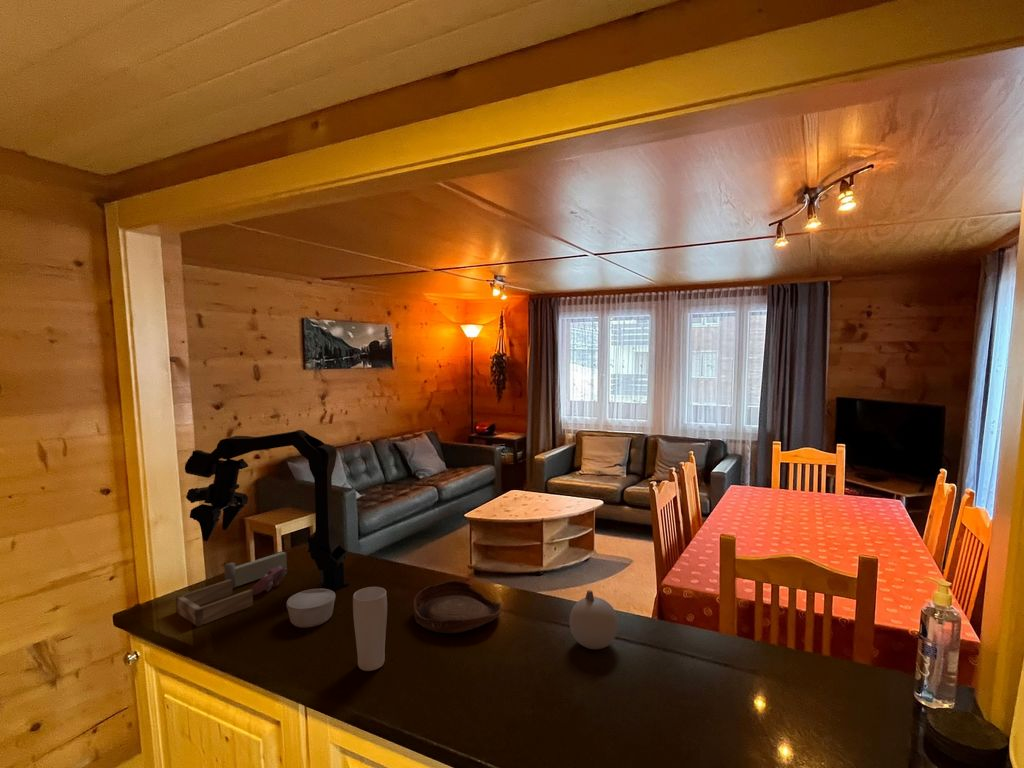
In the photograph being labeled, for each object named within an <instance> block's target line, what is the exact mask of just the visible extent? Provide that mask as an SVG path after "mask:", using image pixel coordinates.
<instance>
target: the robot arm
mask: <svg viewBox="0 0 1024 768" xmlns="http://www.w3.org/2000/svg"><path fill="white" fill-rule="evenodd" d="M291 446H292V447H294V448H295V449H296V450H297V451H298V453H299V454H300V456H302V457H303V458H305V459H306V460H307V461H308V467H309V471H310V472H311V476H313V480H314V514H315V515H314V516H315V517H314V518H315V522H314V523H315V531H314V532H313V533H312V534H311V535H309V536H308V538H307V542H308V549H307V553H308V554H309V555H310V556H309V557H310V558H311V559H312V561H314V562H315V564H316V567H317V570H318V571H320V583H318V584H316V588H317V589H328V590H331V591H333V592H334V591H336V590H339V589H341V588H344V587H346V586H348V585H350V582H349V581H346V580H345V565H344V563H343V562H344V560H346V556H347V554H348V551H347V550H346V549H344V547H343V546H342V545H341V544H340V543H339V537H338V534H337V532H336V529H335V528H334V525H333V484H332V482H333V481H332V479H333V478H332V475H333V472H334V470H335V467H336V461H337V455H338V453H337V450H336V448H335V447H334V446H333V445H331V444H328V443H325V442H323V441H322V440H320V439H319V438H316V437H315V436H312V435H310V434H309V432H306V431H304V430H303V429H298V430H294V431H289V432H283V433H282V432H281V433H274V434H269V435H262V436H249V435H235V436H231V437H227V438H223V439H220V440H219V442H218V443H217V444H216V448H215V449H214V450H213V451H211V452H205V451H204V450H199V449H196V450H193V451H192V454H191V455H190V456H189V458H188V459H187V461H186V463H185V464H184V471H185V473H186V474H187V475H191V476H196V477H201V478H207V479H208V478H209V479H210V478H211V477H212V476H214V477H213V482H212V483H210V484H209V485H208V486H205V487H204V486H203V487H199V488H198V487H195V488H190V489H188V491H187V493H186V496H185V498H186V499H187V501H188V502H190V504H193V503H197V502H203V501H204V502H203V503H202V504H200V505H197V506H195V507H193V508H192V509H191V510H190V514H189V518H190V519H193V521H197V523H198V524H199V526H200V530H201V535H202V540H203V542H208V541H209V540H210V537H211V536H212V534H213V533H214V530H215V529H216V526H217V525H218V523H219V521H220V516H221V513H222V523H221V524H222V527H221V528H222V529H221V530H222V531H227V530H228V528H229V527H230V526H231V524H232V523H233V522H234V520H235V519H236V518H237V517H238V515H239V514H240V513H241V511H242V510H243V508H245V505H247V504H248V500H249V497H248V495H247V494H246V493H243V492H238V491H236V490H238V489H239V488H240V484H238V478H239V474H240V470H244V469H245V468H248V467H249V464H248V463H247V462H246V461H245V459H244V458H240V459H238V460H237V459H234V458H237V457H239V456H243V455H245V454H249V453H251V452H257V451H264V450H270V449H278V448H284V447H291ZM222 459H223V460H222ZM209 504H210V505H209ZM222 511H223V512H222Z"/></svg>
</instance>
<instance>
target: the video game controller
mask: <svg viewBox="0 0 1024 768" xmlns="http://www.w3.org/2000/svg"><path fill="white" fill-rule="evenodd" d="M287 574H288V568H287V569H286V568H284V567H281V566H279V567H276V568H272V569H270V570H269V571H268V572H267V573H266V574H265V575H264V576H263V577H262V578H260V579H258V581H257V582H256V583H255V584H254V585H252V586H251V587H250V589H251V590H253V596H255V595H259V594H261V593H262V592H263V591H265V593H268V592H269V591H271V590H272V588H273V587H277V586H278V585H280V582H281V581H282V580H283V579H284V578H285V577H286V576H287Z"/></svg>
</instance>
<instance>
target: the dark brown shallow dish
mask: <svg viewBox="0 0 1024 768" xmlns="http://www.w3.org/2000/svg"><path fill="white" fill-rule="evenodd" d="M502 608H503V607H502V604H501V602H498V603H496V602H495V601H491V600H490V599H488V598H487V597H485V596H484V595H483V594H482V593H480V592H479V591H477V590H476V589H475V588H473V587H472V585H471V584H469V583H467V582H464V581H462V580H447V581H445V582H440V583H436V584H433V585H432V584H430V585H428V586H426V587H425V588H423V589H421V590H420V591H419V592H418V593H417V594H416V595H415V596H414V598H413V605H412V609H413V616H414V619H415V622H416V623H417V624H419V625H420V627H423V628H425V629H426V630H429V631H431V632H435V633H438V634H439V633H442V634H459V633H464V632H468V631H470V630H473V629H477V628H479V627H481V626H483V625H485V624H489V623H491V622H492V621H494V620H496V619H497V618H498V617H499V615H500V614H501V612H502V610H503V609H502Z"/></svg>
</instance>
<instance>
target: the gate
mask: <svg viewBox="0 0 1024 768" xmlns="http://www.w3.org/2000/svg"><path fill="white" fill-rule="evenodd" d="M287 562H288V561H287V552H285V551H281V552H278V553H277V552H276V553H274V554H271V555H267V556H265V557H260V558H258V559H255V560H252V561H248V562H246V563H242V564H239V565H236V563H235V562H227V563H225V564H224V566H223V567H224V581H225V580H228V579H231V580H232V589H235V588H236V587H237V588H238V587H239V586H243V585H244V584H245V585H246V584H248V583H251V582H254V581H257V580H260V579H261V578H262V577H263V576H264V575H265V574H266V573H267V572H268V571H269V570H270V569H272V568H276V567H279V566H281V567H284V568H286V569H288V568H287V566H288V565H287Z"/></svg>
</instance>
